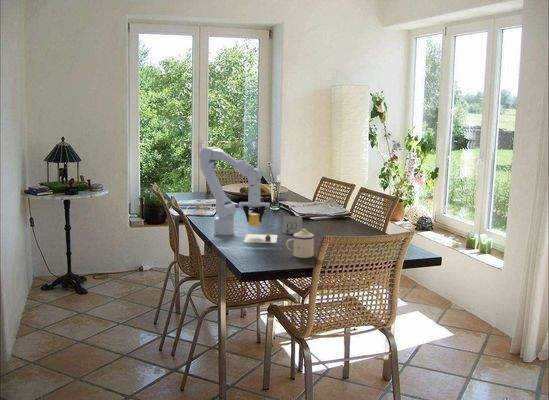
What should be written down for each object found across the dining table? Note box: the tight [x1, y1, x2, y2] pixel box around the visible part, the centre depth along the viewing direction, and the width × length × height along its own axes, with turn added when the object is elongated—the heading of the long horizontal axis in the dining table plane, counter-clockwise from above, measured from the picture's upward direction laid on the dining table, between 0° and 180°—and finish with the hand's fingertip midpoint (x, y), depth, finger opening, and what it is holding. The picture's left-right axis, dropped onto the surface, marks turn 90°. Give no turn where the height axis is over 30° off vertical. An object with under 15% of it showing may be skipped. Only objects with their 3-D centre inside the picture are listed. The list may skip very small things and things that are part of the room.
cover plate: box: [243, 233, 278, 244], centre depth 282 cm, size 15×16×4 cm
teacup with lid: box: [285, 228, 315, 259], centre depth 255 cm, size 12×9×12 cm
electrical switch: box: [282, 215, 303, 235], centre depth 295 cm, size 9×5×9 cm, turn 78°
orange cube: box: [248, 212, 261, 227], centre depth 285 cm, size 5×5×5 cm
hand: (254, 221), depth 285 cm, fingers closed on orange cube, 5 cm apart
